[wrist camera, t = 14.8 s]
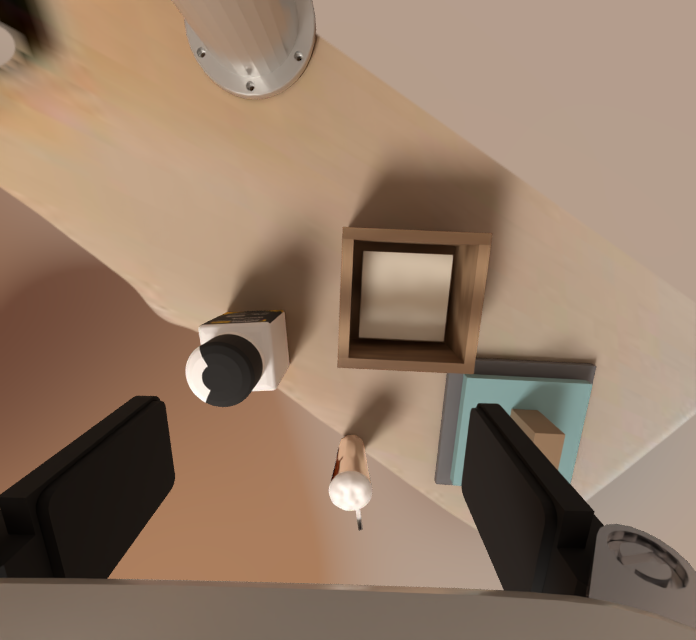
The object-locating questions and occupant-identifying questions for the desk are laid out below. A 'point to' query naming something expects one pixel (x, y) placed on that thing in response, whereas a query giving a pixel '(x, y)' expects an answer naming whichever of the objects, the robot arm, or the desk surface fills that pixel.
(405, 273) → the storage box
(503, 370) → the desk mat
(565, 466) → the lid
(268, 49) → the robot arm
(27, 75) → the desk surface
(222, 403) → the medicine bottle
